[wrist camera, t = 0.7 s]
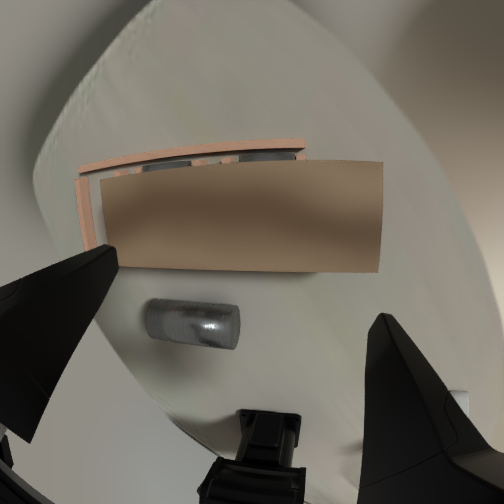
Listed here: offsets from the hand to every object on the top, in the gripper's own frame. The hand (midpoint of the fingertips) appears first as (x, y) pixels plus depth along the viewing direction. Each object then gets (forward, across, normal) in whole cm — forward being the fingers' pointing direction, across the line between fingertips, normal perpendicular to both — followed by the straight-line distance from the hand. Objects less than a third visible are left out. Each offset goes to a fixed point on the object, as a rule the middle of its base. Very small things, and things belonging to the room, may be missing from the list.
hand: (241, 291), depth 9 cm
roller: (+9, +4, +12) cm, 16 cm away
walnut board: (+8, +2, +2) cm, 9 cm away
